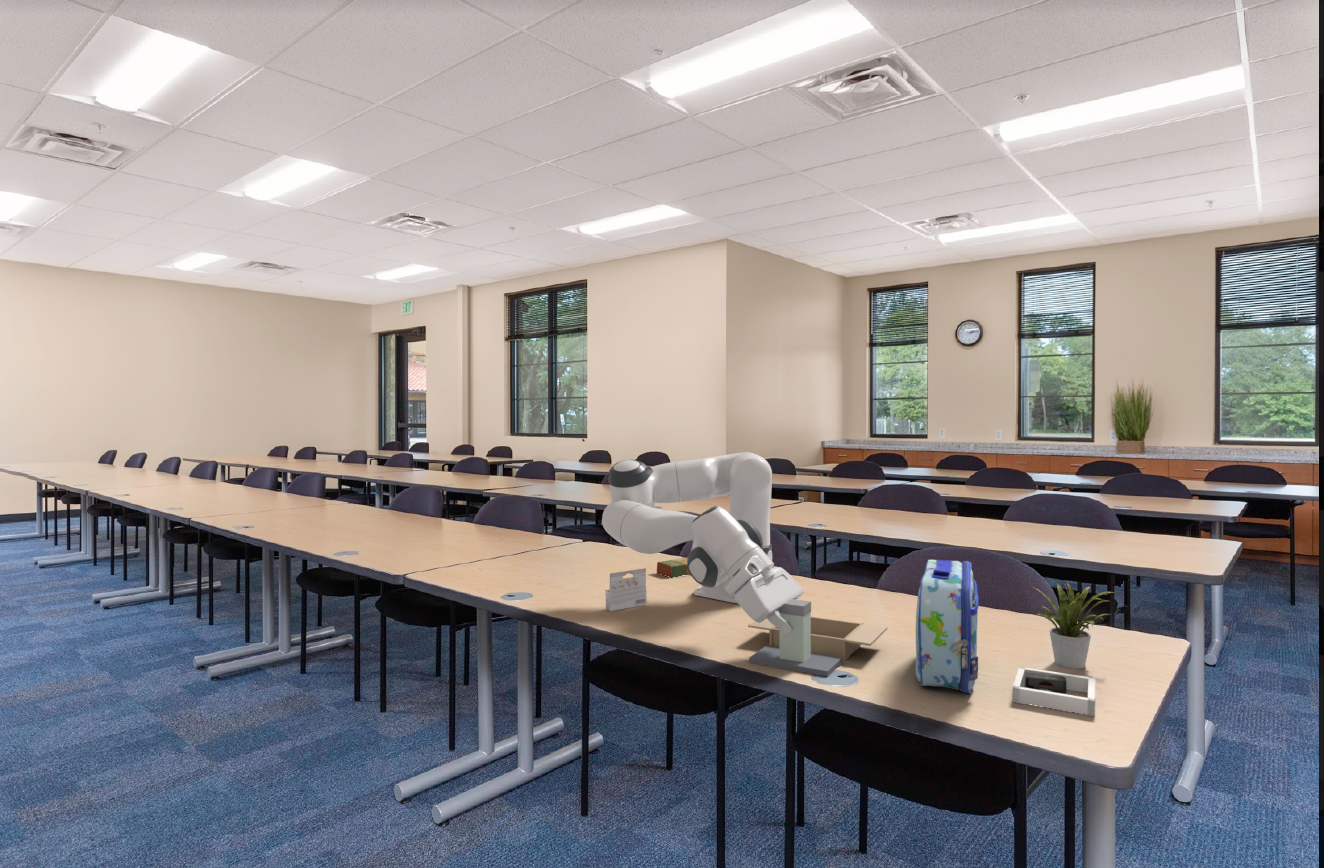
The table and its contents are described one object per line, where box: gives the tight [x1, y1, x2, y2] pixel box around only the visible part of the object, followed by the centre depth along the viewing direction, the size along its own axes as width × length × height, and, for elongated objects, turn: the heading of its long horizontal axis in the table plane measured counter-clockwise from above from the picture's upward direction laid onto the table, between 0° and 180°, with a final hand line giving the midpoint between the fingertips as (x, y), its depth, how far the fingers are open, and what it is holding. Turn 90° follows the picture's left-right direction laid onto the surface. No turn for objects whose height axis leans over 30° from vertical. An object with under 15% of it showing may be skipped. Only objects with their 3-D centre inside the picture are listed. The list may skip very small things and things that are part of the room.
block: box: [778, 599, 812, 662], centre depth 144 cm, size 5×4×11 cm
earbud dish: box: [1011, 666, 1096, 717], centre depth 126 cm, size 12×12×2 cm
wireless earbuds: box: [1024, 672, 1068, 695], centre depth 127 cm, size 5×7×3 cm, turn 67°
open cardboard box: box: [747, 616, 888, 661], centre depth 156 cm, size 26×14×4 cm, turn 59°
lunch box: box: [915, 559, 980, 694], centre depth 137 cm, size 26×11×21 cm, turn 157°
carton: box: [656, 557, 691, 579], centre depth 230 cm, size 8×16×4 cm, turn 124°
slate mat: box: [748, 644, 843, 677], centre depth 145 cm, size 16×9×1 cm, turn 59°
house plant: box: [1032, 580, 1114, 670], centre depth 141 cm, size 14×14×16 cm
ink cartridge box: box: [604, 567, 648, 612], centre depth 188 cm, size 2×11×10 cm, turn 123°
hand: (798, 626), depth 144 cm, fingers open, 8 cm apart
